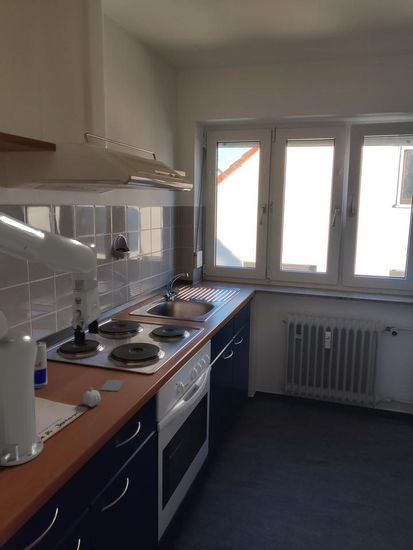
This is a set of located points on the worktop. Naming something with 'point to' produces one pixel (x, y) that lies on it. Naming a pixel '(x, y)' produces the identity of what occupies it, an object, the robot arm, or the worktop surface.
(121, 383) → the coaster
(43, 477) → the worktop surface
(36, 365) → the white bottle
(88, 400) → the garlic
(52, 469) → the worktop surface
